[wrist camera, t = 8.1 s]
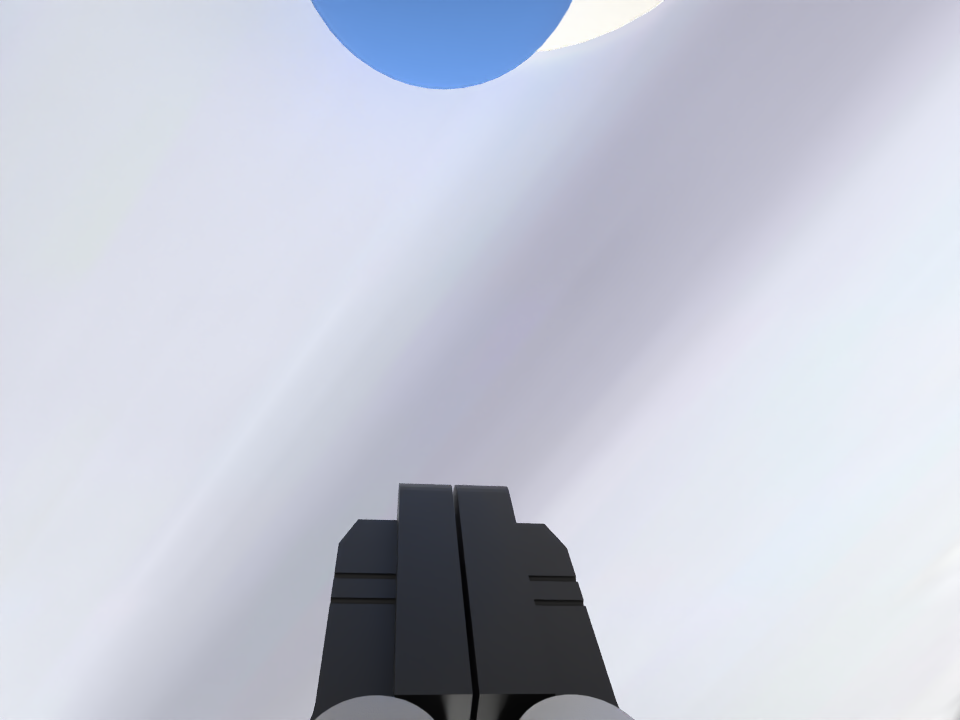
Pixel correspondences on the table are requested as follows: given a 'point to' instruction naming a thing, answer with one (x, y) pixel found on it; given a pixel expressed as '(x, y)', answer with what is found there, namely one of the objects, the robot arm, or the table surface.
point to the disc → (595, 20)
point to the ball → (442, 36)
